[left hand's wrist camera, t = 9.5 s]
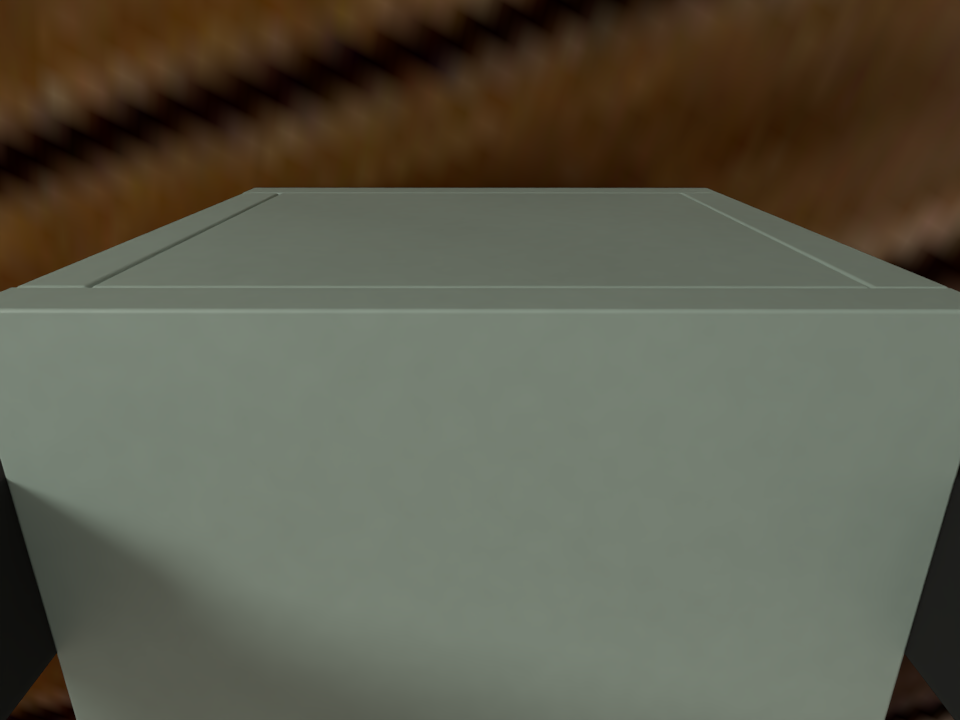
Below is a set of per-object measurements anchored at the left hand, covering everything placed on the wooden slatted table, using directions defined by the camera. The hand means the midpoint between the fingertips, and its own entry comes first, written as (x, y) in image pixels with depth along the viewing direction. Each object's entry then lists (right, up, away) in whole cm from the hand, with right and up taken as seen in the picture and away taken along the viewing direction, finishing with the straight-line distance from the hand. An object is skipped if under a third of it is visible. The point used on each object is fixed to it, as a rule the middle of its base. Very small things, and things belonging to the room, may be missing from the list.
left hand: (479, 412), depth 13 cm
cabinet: (0, -4, +8) cm, 9 cm away
